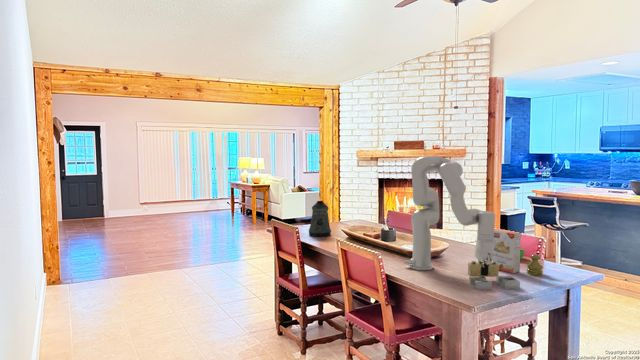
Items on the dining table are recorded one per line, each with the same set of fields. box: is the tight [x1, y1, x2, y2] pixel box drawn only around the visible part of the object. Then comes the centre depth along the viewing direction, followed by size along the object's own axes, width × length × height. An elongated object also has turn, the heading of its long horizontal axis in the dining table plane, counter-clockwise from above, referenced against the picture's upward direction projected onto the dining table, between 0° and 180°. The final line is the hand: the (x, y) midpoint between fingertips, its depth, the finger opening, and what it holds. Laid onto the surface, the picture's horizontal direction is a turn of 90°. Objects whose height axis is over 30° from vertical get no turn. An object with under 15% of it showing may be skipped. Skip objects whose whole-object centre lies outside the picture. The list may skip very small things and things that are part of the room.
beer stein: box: [308, 200, 332, 238], centre depth 338 cm, size 16×19×25 cm
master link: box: [467, 260, 500, 278], centre depth 223 cm, size 14×3×7 cm, turn 93°
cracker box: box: [491, 228, 522, 274], centre depth 240 cm, size 14×6×21 cm, turn 33°
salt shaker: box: [526, 253, 544, 277], centre depth 233 cm, size 7×7×10 cm
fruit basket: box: [520, 244, 526, 260], centre depth 264 cm, size 11×9×11 cm
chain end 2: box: [495, 275, 521, 290], centre depth 214 cm, size 7×9×4 cm
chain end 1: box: [468, 276, 493, 291], centre depth 213 cm, size 7×9×4 cm
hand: (482, 273), depth 223 cm, fingers closed on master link, 3 cm apart
